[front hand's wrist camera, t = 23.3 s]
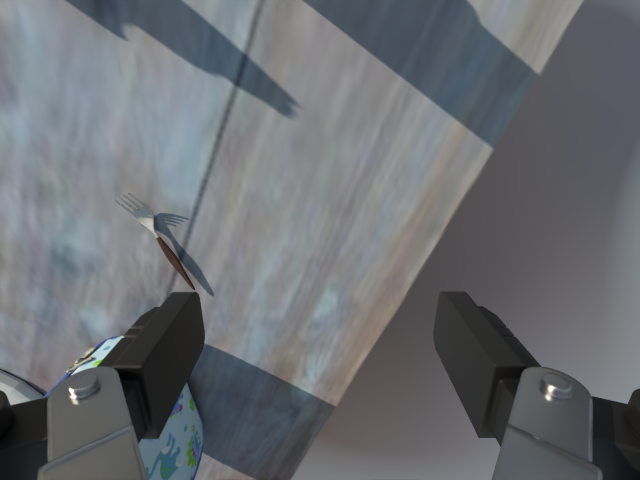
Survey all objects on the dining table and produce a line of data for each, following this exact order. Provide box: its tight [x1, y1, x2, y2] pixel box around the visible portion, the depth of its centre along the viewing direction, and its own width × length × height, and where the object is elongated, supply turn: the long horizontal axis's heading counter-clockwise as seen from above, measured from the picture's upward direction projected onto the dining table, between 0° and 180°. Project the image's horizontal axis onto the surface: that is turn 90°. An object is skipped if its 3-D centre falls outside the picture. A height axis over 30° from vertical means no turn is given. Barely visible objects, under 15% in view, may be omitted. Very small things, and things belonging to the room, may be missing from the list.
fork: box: [114, 192, 195, 290], centre depth 46 cm, size 3×16×2 cm, turn 26°
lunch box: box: [43, 336, 204, 480], centre depth 46 cm, size 26×11×21 cm, turn 10°
